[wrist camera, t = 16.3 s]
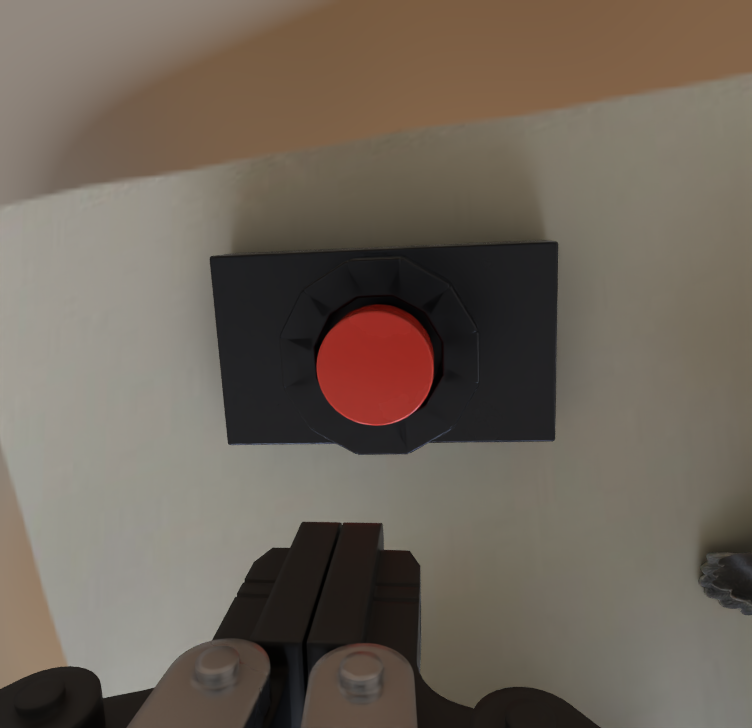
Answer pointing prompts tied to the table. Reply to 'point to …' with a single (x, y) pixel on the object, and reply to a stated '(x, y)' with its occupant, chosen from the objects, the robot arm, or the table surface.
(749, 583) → the brown plastic figure
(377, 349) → the button
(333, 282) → the black base block
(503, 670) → the table surface
